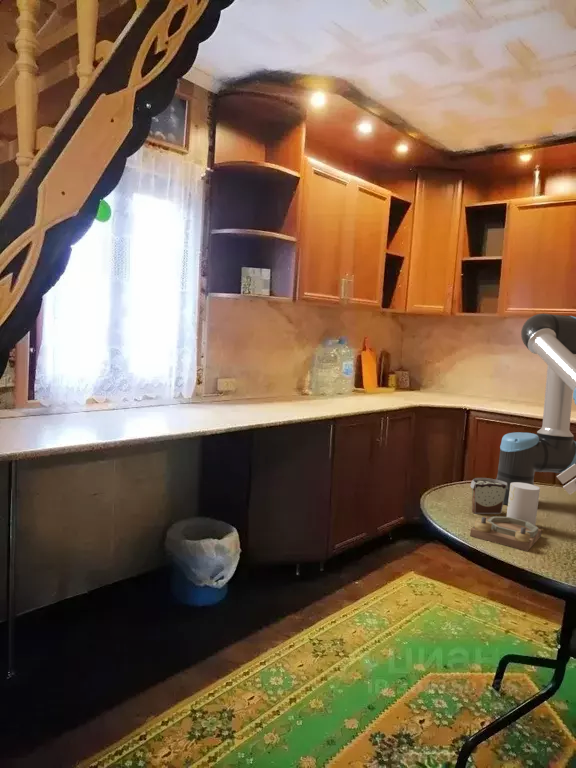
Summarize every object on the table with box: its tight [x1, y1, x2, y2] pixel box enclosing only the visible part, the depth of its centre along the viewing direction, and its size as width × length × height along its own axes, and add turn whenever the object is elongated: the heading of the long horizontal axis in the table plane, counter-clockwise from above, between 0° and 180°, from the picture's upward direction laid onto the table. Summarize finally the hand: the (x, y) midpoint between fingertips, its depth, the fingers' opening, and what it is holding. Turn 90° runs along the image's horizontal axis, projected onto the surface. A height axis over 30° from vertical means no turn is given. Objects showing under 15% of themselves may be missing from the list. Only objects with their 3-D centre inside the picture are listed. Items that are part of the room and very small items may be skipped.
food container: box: [469, 477, 508, 515], centre depth 185 cm, size 12×6×10 cm, turn 104°
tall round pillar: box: [506, 482, 541, 526], centre depth 173 cm, size 8×8×12 cm
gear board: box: [469, 516, 542, 552], centre depth 162 cm, size 16×15×5 cm
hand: (562, 485), depth 169 cm, fingers open, 13 cm apart
